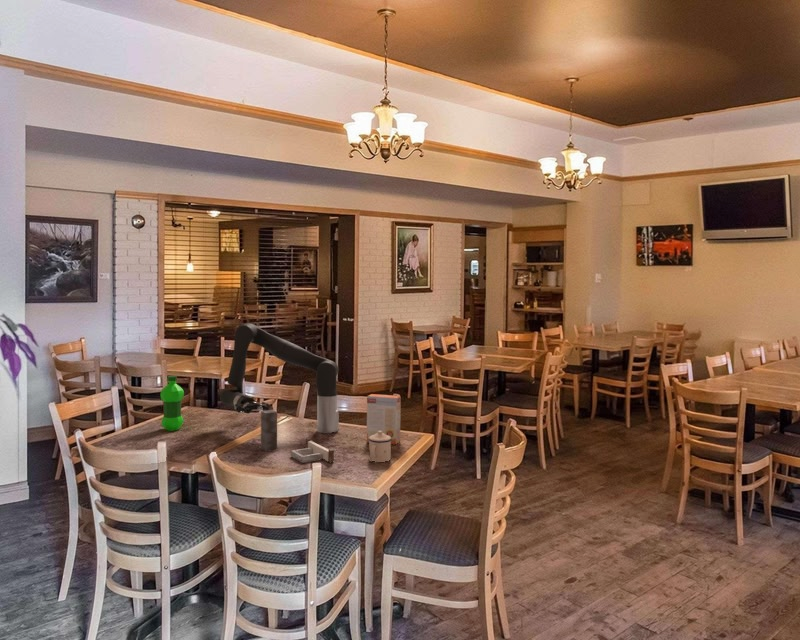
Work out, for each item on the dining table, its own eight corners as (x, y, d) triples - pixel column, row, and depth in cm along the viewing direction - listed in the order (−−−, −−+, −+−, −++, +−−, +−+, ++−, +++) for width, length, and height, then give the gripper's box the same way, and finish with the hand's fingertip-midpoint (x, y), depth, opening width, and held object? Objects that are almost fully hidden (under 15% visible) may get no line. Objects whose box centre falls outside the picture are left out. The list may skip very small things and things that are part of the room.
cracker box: (400, 442, 275) (401, 395, 273) (396, 445, 269) (396, 398, 268) (371, 439, 279) (371, 393, 278) (366, 442, 274) (366, 395, 272)
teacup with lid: (373, 455, 254) (374, 427, 253) (394, 458, 250) (394, 429, 250) (361, 463, 243) (361, 434, 242) (382, 466, 239) (383, 436, 238)
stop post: (272, 446, 264) (272, 409, 263) (277, 449, 260) (277, 411, 259) (261, 448, 261) (261, 411, 260) (265, 451, 257) (265, 413, 256)
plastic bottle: (160, 432, 284) (159, 378, 282) (162, 427, 294) (161, 375, 292) (183, 431, 286) (182, 378, 285) (184, 426, 296) (184, 374, 295)
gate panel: (307, 450, 258) (307, 441, 258) (313, 450, 259) (313, 440, 259) (328, 461, 243) (328, 451, 243) (333, 460, 245) (333, 450, 245)
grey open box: (309, 449, 260) (309, 438, 260) (333, 462, 243) (333, 450, 242) (285, 453, 254) (285, 441, 254) (308, 467, 237) (309, 454, 236)
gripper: (229, 396, 277) (242, 403, 264) (259, 393, 285) (273, 400, 272) (228, 412, 278) (242, 420, 265) (259, 410, 286) (273, 417, 273)
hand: (258, 410), depth 268 cm, fingers open, 8 cm apart
